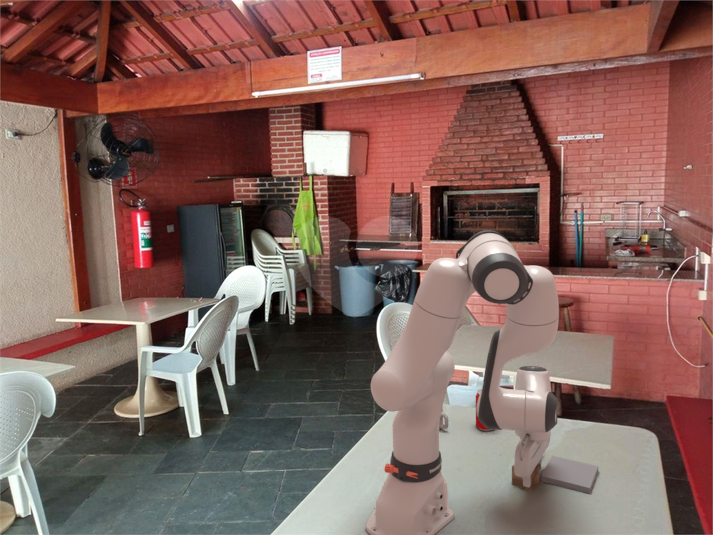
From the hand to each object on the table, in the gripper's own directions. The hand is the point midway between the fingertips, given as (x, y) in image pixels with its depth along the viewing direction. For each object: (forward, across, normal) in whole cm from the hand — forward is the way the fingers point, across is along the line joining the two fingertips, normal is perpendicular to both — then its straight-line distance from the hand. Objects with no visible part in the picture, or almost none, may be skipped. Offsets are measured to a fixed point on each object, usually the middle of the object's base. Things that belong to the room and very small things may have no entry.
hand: (532, 477), depth 142 cm
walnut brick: (+2, -1, +2) cm, 3 cm away
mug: (+2, +18, +36) cm, 40 cm away
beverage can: (+2, +25, +22) cm, 33 cm away
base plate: (+2, +8, -8) cm, 11 cm away
